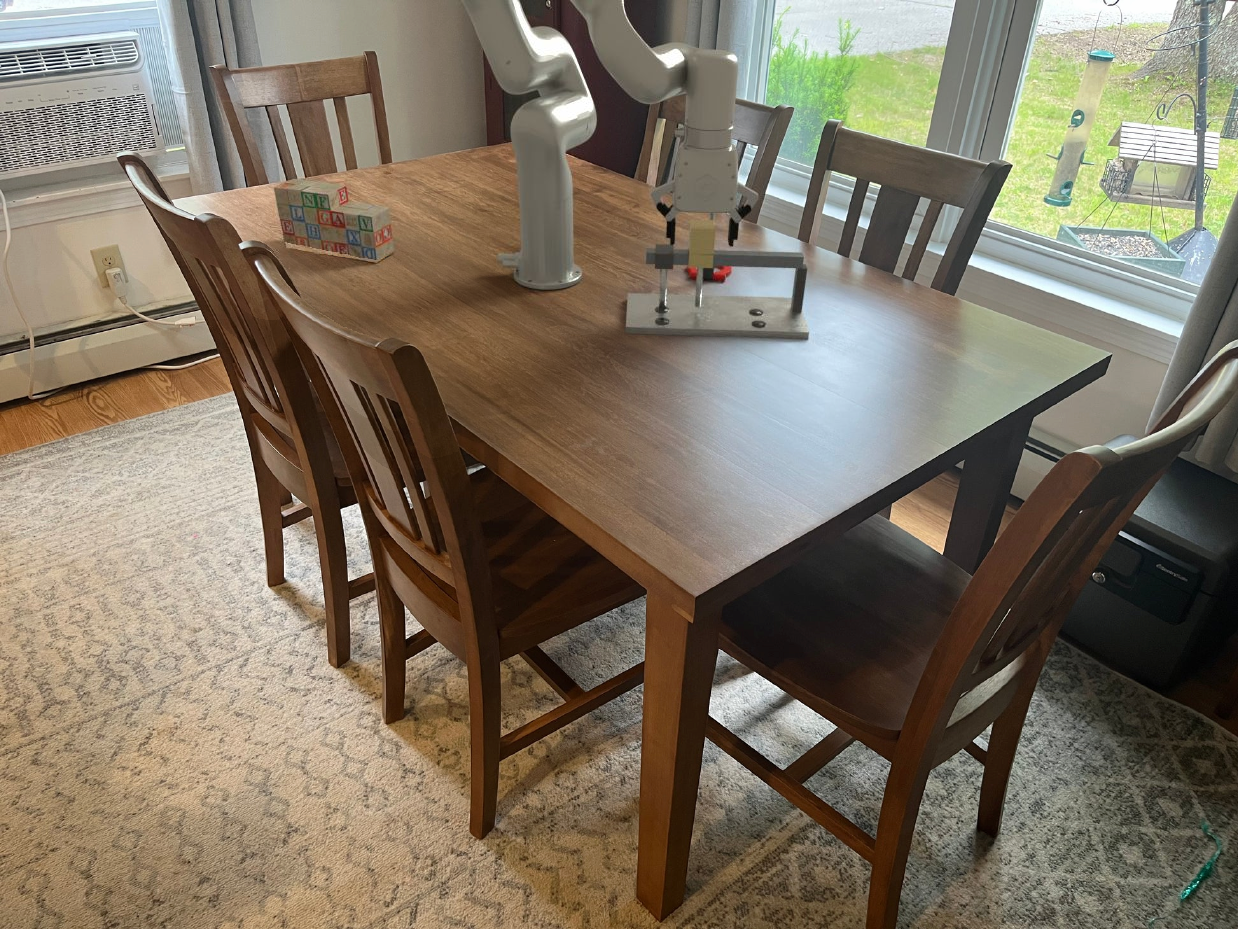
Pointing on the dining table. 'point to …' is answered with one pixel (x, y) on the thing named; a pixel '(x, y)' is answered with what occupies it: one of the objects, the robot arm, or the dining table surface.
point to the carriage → (701, 250)
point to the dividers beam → (669, 256)
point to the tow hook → (711, 269)
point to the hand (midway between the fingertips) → (701, 242)
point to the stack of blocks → (332, 220)
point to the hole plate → (715, 316)
